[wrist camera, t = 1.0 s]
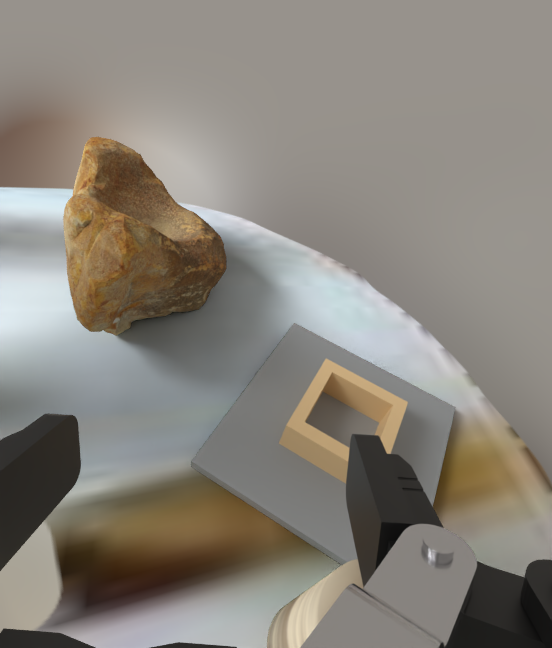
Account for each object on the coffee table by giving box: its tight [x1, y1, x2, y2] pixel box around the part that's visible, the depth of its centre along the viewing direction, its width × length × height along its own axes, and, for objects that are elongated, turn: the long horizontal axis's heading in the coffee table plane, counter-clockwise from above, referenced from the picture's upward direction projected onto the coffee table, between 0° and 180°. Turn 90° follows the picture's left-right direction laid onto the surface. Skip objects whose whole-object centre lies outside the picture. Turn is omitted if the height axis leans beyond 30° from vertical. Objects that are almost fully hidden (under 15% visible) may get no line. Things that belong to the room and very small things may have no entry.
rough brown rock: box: [63, 137, 226, 336], centre depth 43 cm, size 23×17×15 cm
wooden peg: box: [267, 559, 364, 648], centre depth 22 cm, size 5×5×14 cm
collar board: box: [191, 323, 455, 565], centre depth 37 cm, size 20×20×5 cm
